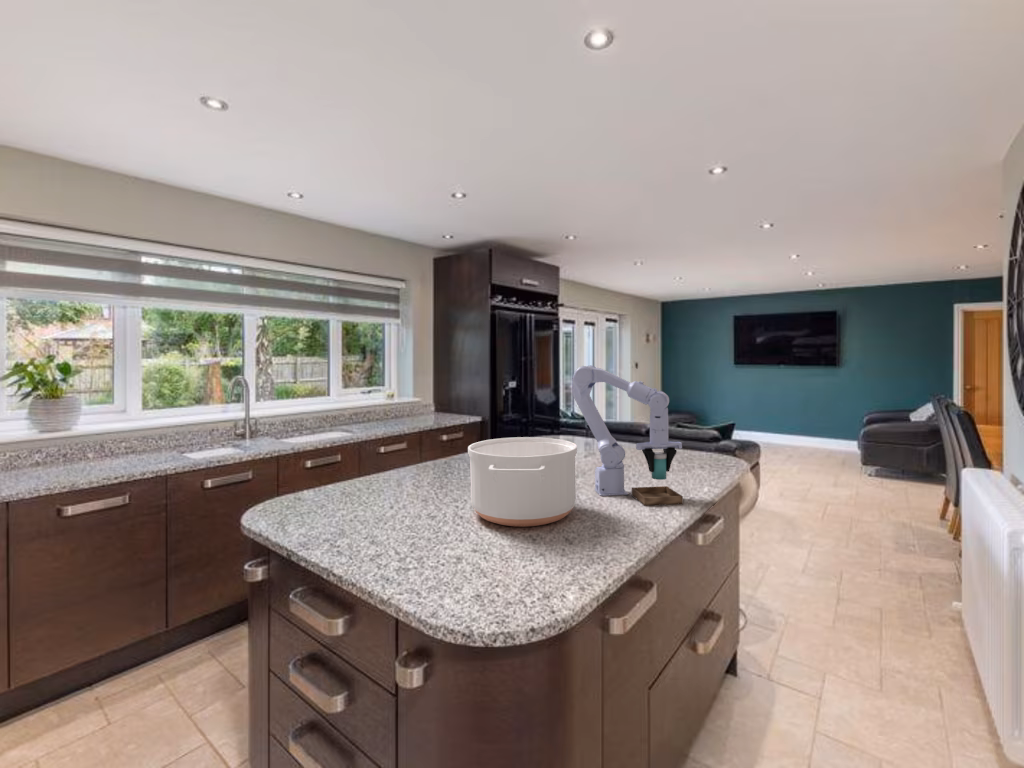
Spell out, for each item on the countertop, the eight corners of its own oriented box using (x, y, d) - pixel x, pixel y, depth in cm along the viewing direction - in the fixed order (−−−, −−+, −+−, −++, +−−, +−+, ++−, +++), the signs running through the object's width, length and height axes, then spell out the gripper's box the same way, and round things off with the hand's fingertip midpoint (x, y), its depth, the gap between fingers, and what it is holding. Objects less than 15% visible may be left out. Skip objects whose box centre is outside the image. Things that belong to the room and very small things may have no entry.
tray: (644, 505, 149) (644, 497, 149) (631, 495, 161) (631, 487, 161) (682, 504, 150) (682, 496, 150) (667, 493, 162) (667, 486, 162)
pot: (580, 541, 121) (579, 461, 120) (454, 538, 125) (452, 460, 124) (576, 494, 162) (575, 434, 161) (481, 493, 166) (480, 434, 165)
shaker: (653, 479, 156) (653, 454, 155) (649, 476, 160) (649, 452, 160) (668, 479, 155) (668, 454, 155) (664, 475, 160) (664, 451, 160)
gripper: (641, 431, 152) (641, 474, 153) (686, 430, 154) (686, 473, 154) (633, 428, 159) (634, 469, 160) (676, 427, 161) (676, 468, 161)
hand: (659, 471), depth 158 cm, fingers closed on shaker, 5 cm apart
